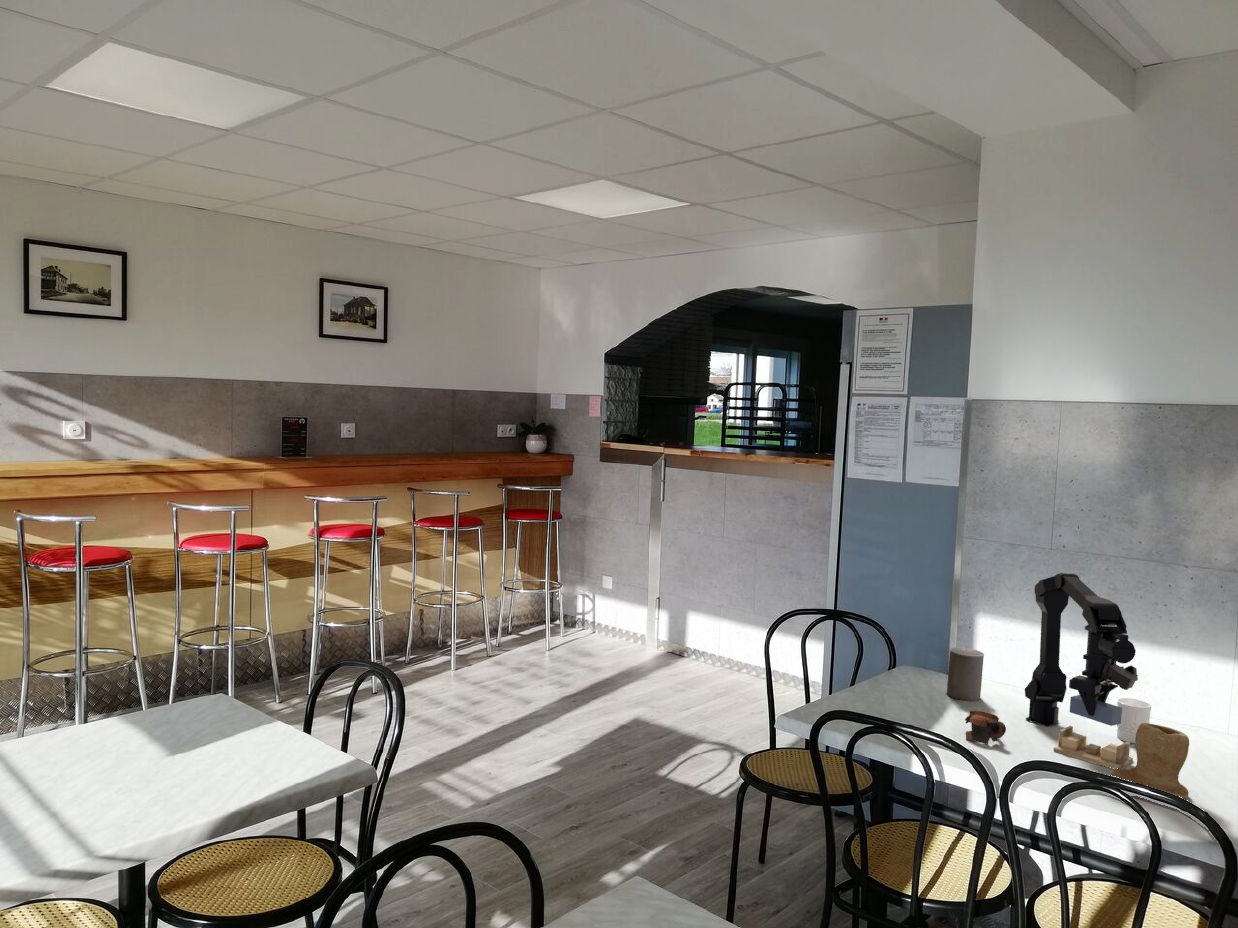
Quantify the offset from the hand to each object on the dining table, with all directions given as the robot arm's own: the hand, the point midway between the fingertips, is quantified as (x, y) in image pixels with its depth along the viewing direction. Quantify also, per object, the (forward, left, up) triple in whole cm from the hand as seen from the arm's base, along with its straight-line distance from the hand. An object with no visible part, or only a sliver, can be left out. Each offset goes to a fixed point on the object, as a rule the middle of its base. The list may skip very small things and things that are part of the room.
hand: (1094, 713), depth 231 cm
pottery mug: (-22, -12, -11) cm, 27 cm away
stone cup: (+17, -11, -11) cm, 23 cm away
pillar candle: (-45, +19, -11) cm, 50 cm away
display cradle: (0, 0, -11) cm, 11 cm away
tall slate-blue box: (0, 0, -1) cm, 1 cm away
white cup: (+1, +22, -11) cm, 25 cm away
